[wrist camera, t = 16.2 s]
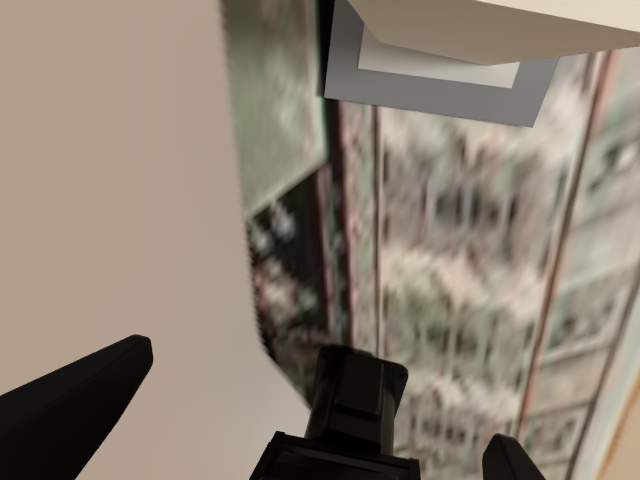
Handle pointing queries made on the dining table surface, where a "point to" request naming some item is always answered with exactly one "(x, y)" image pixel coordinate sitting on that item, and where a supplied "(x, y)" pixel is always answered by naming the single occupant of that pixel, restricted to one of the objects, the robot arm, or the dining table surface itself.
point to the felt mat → (430, 77)
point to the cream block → (503, 27)
